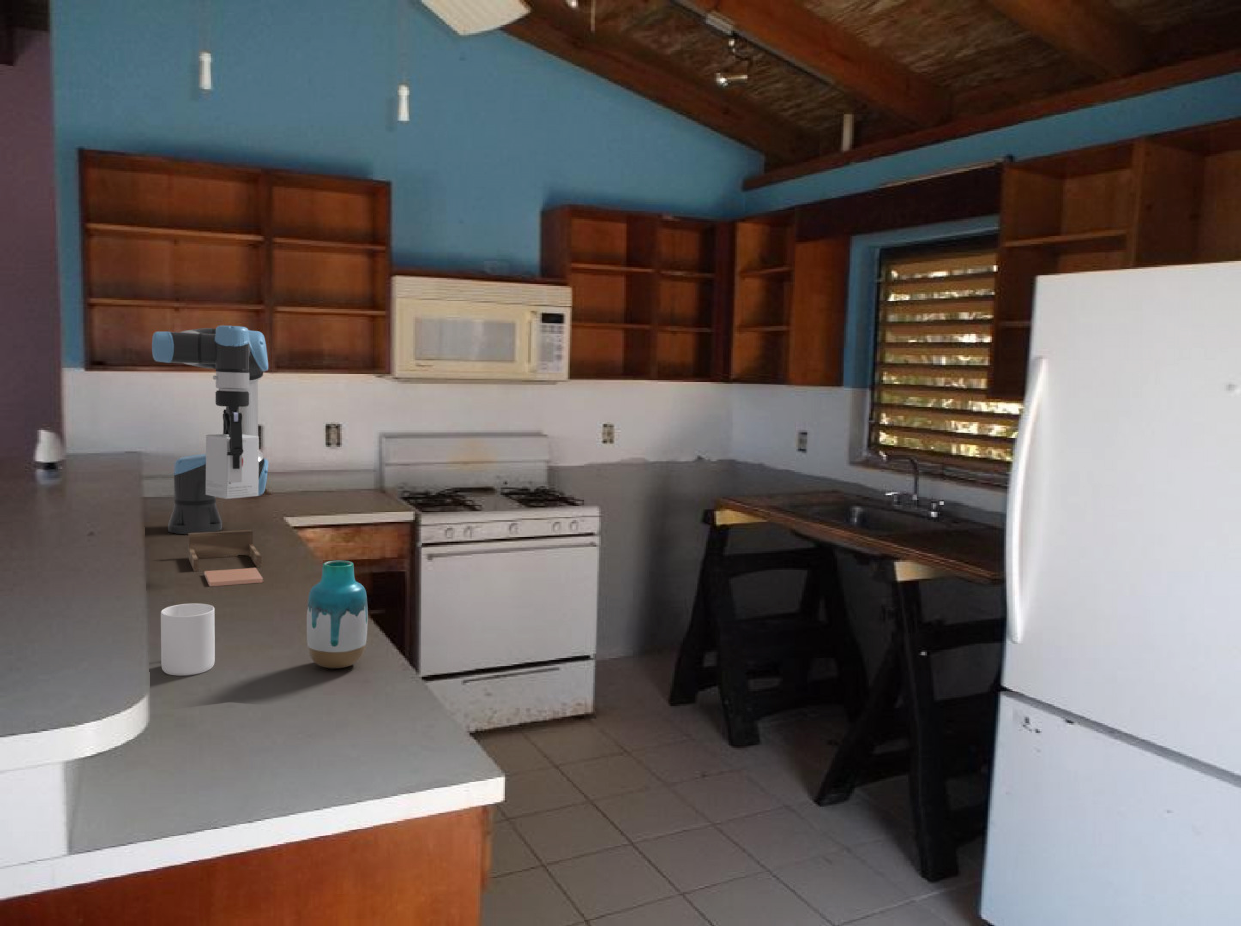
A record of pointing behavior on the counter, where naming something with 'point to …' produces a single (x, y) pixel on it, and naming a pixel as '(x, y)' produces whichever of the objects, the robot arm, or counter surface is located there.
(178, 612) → the mug
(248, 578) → the terracotta tile
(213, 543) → the wooden u-shaped frame
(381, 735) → the counter surface
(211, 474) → the supplement box
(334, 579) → the vase
